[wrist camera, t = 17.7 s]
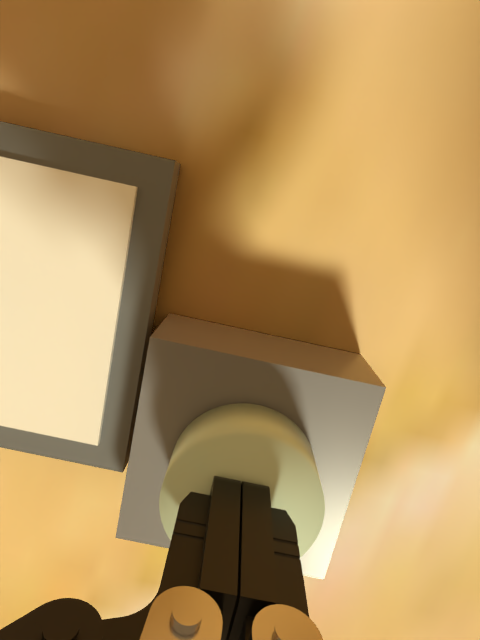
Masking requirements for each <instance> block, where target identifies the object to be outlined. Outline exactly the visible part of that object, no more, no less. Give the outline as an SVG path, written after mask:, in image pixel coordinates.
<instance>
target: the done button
mask: <svg viewBox="0 0 480 640" xmlns="http://www.w3.org/2000/svg"><path fill="white" fill-rule="evenodd" d="M214 476H219V477H224V478H229V479H234V480H239V481H241V483H242V481H244V482H249V483H254V484H259V485H264V486H269V488H270V500H271V507H272V508H277V509H282V510H286V511H287V513H288V515H289V516H290V518H291V519H292V521H293V523H294V524H295V526H296V532H297V539H298V546H299V552H300V557H302V556H303V555H304V554H305V553H306V552H307V551H308V550H309V548H310V547H311V546H312V544H313V543H314V542H315V540H316V538H317V536H318V535H319V532H320V530H321V527H322V524H323V520H324V514H325V500H324V494H323V490H322V486H321V482H320V478H319V474H318V470H317V466H316V462H315V458H314V454H313V450H312V448H311V445H310V443H309V441H308V439H307V438H306V436H305V434H304V433H303V432H302V430H301V429H300V428H299V427H298V426H297V425H296V424H295V423H294V422H293V421H292V420H290V419H289V418H288V417H286V416H285V415H283V414H281V413H280V412H278V411H276V410H273V409H271V408H268V407H265V406H261V405H256V404H249V403H236V404H228V405H223V406H219V407H217V408H214V409H211V410H209V411H207V412H205V413H203V414H202V415H200V416H199V417H197V418H196V419H194V420H193V421H192V422H191V423H190V424H189V425H188V426H187V427H186V428H185V430H184V431H183V432H182V434H181V435H180V437H179V438H178V440H177V443H176V445H175V447H174V450H173V453H172V456H171V459H170V462H169V466H168V469H167V472H166V475H165V478H164V481H163V484H162V487H161V491H160V498H159V511H160V517H161V521H162V524H163V527H164V530H165V532H166V534H167V536H168V538H169V539H170V540H171V538H172V534H173V530H174V526H175V522H176V518H177V513H178V509H179V505H180V503H181V502H182V500H183V499H184V498H185V497H186V496H187V495H188V494H189V493H190V492H196V493H201V494H206V495H210V491H211V487H212V482H213V478H214Z"/></svg>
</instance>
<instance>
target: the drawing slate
mask: <svg viewBox="0 0 480 640" xmlns="http://www.w3.org/2000/svg"><path fill="white" fill-rule="evenodd" d="M180 165H181V164H180V163H178V162H177V161H175V160H170V159H166V158H161V157H157V156H152V155H148V154H143V153H139V152H135V151H130V150H126V149H121V148H117V147H112V146H108V145H103V144H99V143H95V142H90V141H86V140H81V139H77V138H72V137H68V136H63V135H59V134H55V133H50V132H46V131H41V130H37V129H32V128H28V127H23V126H19V125H15V124H10V123H6V122H1V121H0V447H2V448H7V449H12V450H17V451H21V452H26V453H31V454H36V455H41V456H46V457H51V458H55V459H60V460H65V461H70V462H75V463H80V464H85V465H90V466H94V467H99V468H104V469H109V470H114V471H119V472H123V471H124V469H125V467H126V465H127V463H128V461H129V457H130V451H131V445H132V439H133V433H134V427H135V422H136V416H137V410H138V404H139V398H140V392H141V386H142V381H143V375H144V369H145V363H146V357H147V351H148V345H149V340H150V336H151V334H152V328H153V322H154V316H155V311H156V305H157V299H158V293H159V287H160V281H161V275H162V270H163V264H164V258H165V252H166V246H167V240H168V235H169V229H170V223H171V217H172V211H173V205H174V200H175V194H176V188H177V182H178V176H179V170H180Z"/></svg>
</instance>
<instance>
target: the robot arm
mask: <svg viewBox="0 0 480 640" xmlns="http://www.w3.org/2000/svg"><path fill="white" fill-rule="evenodd" d="M0 640H323V639H322V636H321V634H320V631H319V630H318V628H317V627H316V625H315V624H314V622H313V621H312V620H311V619H310V618H309V614H308V607H307V600H306V593H305V586H304V580H303V573H302V566H301V560H300V552H299V546H298V539H297V532H296V526H295V524H294V523H293V521H292V519H291V518H290V516H289V515H288V513H287V511H286V510H282V509H277V508H272V507H271V500H270V488H269V486H264V485H259V484H254V483H249V482H244V481H242V483H241V481H239V480H234V479H229V478H224V477H219V476H214V478H213V482H212V487H211V491H210V495H206V494H201V493H196V492H190V493H189V494H188V495H187V496H186V497H185V498H184V499H183V500H182V502H181V503H180V505H179V509H178V513H177V518H176V522H175V526H174V530H173V534H172V538H171V543H170V547H169V551H168V555H167V559H166V563H165V568H164V572H163V576H162V580H161V584H160V588H159V591H158V593H157V595H156V596H155V598H154V599H153V600H152V602H151V603H149V604H148V605H147V606H146V607H145V608H143V609H142V610H140V611H138V612H136V613H134V614H132V615H129V616H125V617H119V618H112V619H104V620H102V619H101V617H100V615H99V613H98V612H97V610H96V609H95V608H94V607H93V606H92V605H90V604H89V603H87V602H85V601H82V600H79V599H73V598H63V599H57V600H53V601H50V602H48V603H45V604H43V605H41V606H40V607H38V608H36V609H35V610H33V611H31V612H30V613H28V614H26V615H24V616H23V617H21V618H19V619H18V620H16V621H14V622H13V623H11V624H9V625H8V626H6V627H4V628H3V629H1V630H0Z"/></svg>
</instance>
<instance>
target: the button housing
mask: <svg viewBox="0 0 480 640" xmlns="http://www.w3.org/2000/svg"><path fill="white" fill-rule="evenodd" d="M385 389H386V387H385V386H384V384H383V383H382V382H381V380H380V379H379V378H378V376H377V375H376V374H375V372H374V371H373V370H372V368H371V367H370V366H369V365H368V363H367V362H366V361H365V359H364V358H363V357H362V355H361V354H357V353H352V352H347V351H343V350H338V349H333V348H329V347H324V346H319V345H315V344H310V343H306V342H301V341H296V340H292V339H287V338H282V337H278V336H273V335H268V334H264V333H259V332H255V331H250V330H245V329H241V328H236V327H231V326H227V325H222V324H217V323H213V322H208V321H204V320H199V319H194V318H190V317H185V316H180V315H176V314H171V313H169V314H168V315H167V317H166V318H165V319H164V320H163V322H162V323H161V324H160V325H159V326H158V328H157V329H156V330H155V331H154V333H153V334H152V335H151V336H150V340H149V345H148V351H147V357H146V363H145V369H144V375H143V381H142V386H141V392H140V398H139V404H138V410H137V416H136V422H135V427H134V433H133V439H132V445H131V451H130V457H129V463H128V468H127V474H126V480H125V486H124V492H123V498H122V504H121V509H120V515H119V521H118V527H117V533H116V538H120V539H125V540H130V541H135V542H140V543H145V544H150V545H155V546H160V547H165V548H169V547H170V543H171V540H170V539H169V538H168V536H167V534H166V532H165V530H164V527H163V524H162V521H161V517H160V511H159V498H160V491H161V487H162V484H163V481H164V478H165V475H166V472H167V469H168V466H169V462H170V459H171V456H172V453H173V450H174V447H175V445H176V443H177V440H178V438H179V437H180V435H181V434H182V432H183V431H184V430H185V428H186V427H187V426H188V425H189V424H190V423H191V422H192V421H193V420H194V419H196V418H197V417H199V416H200V415H202V414H203V413H205V412H207V411H209V410H211V409H214V408H217V407H219V406H223V405H228V404H236V403H249V404H256V405H261V406H265V407H268V408H271V409H273V410H276V411H278V412H280V413H281V414H283V415H285V416H286V417H288V418H289V419H290V420H292V421H293V422H294V423H295V424H296V425H297V426H298V427H299V428H300V429H301V430H302V432H303V433H304V434H305V436H306V438H307V439H308V441H309V443H310V445H311V448H312V450H313V454H314V458H315V462H316V466H317V470H318V474H319V478H320V482H321V486H322V490H323V494H324V500H325V514H324V520H323V524H322V527H321V530H320V532H319V535H318V536H317V538H316V540H315V542H314V543H313V544H312V546H311V547H310V548H309V550H308V551H307V552H306V553H305V554H304V555H303V556H302V557H300V560H301V566H302V573H303V575H304V576H309V577H314V578H319V579H323V580H324V578H325V575H326V572H327V568H328V565H329V562H330V559H331V556H332V553H333V550H334V547H335V544H336V541H337V537H338V534H339V531H340V528H341V525H342V522H343V519H344V516H345V513H346V510H347V507H348V503H349V500H350V497H351V494H352V491H353V488H354V485H355V482H356V479H357V476H358V472H359V469H360V466H361V463H362V460H363V457H364V454H365V451H366V448H367V445H368V442H369V438H370V435H371V432H372V429H373V426H374V423H375V420H376V417H377V414H378V411H379V408H380V404H381V401H382V398H383V395H384V392H385Z"/></svg>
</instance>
